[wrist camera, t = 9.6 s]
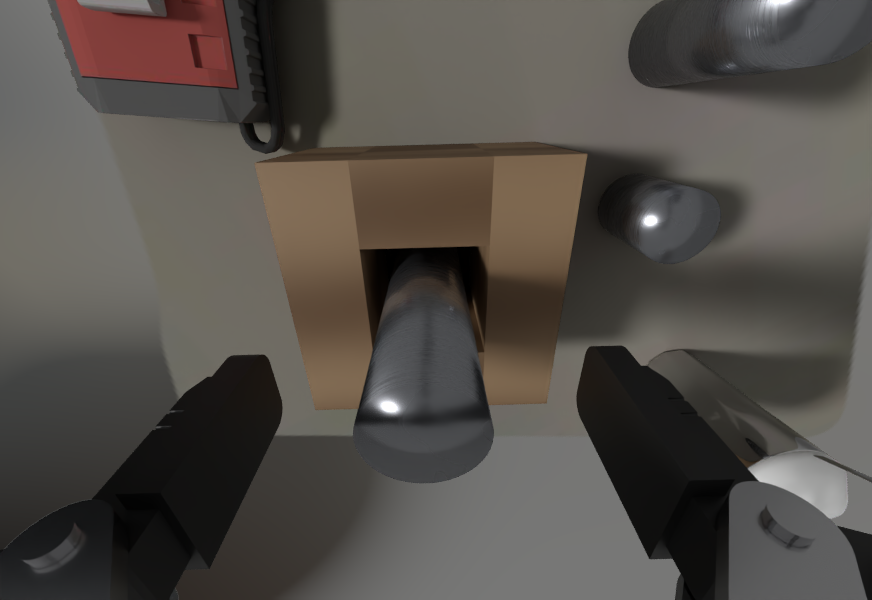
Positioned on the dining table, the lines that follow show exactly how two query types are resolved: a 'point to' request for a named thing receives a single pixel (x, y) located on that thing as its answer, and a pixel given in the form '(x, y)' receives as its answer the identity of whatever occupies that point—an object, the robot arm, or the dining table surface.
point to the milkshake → (758, 435)
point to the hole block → (422, 228)
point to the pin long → (424, 376)
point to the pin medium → (743, 37)
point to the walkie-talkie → (176, 60)
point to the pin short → (659, 217)
